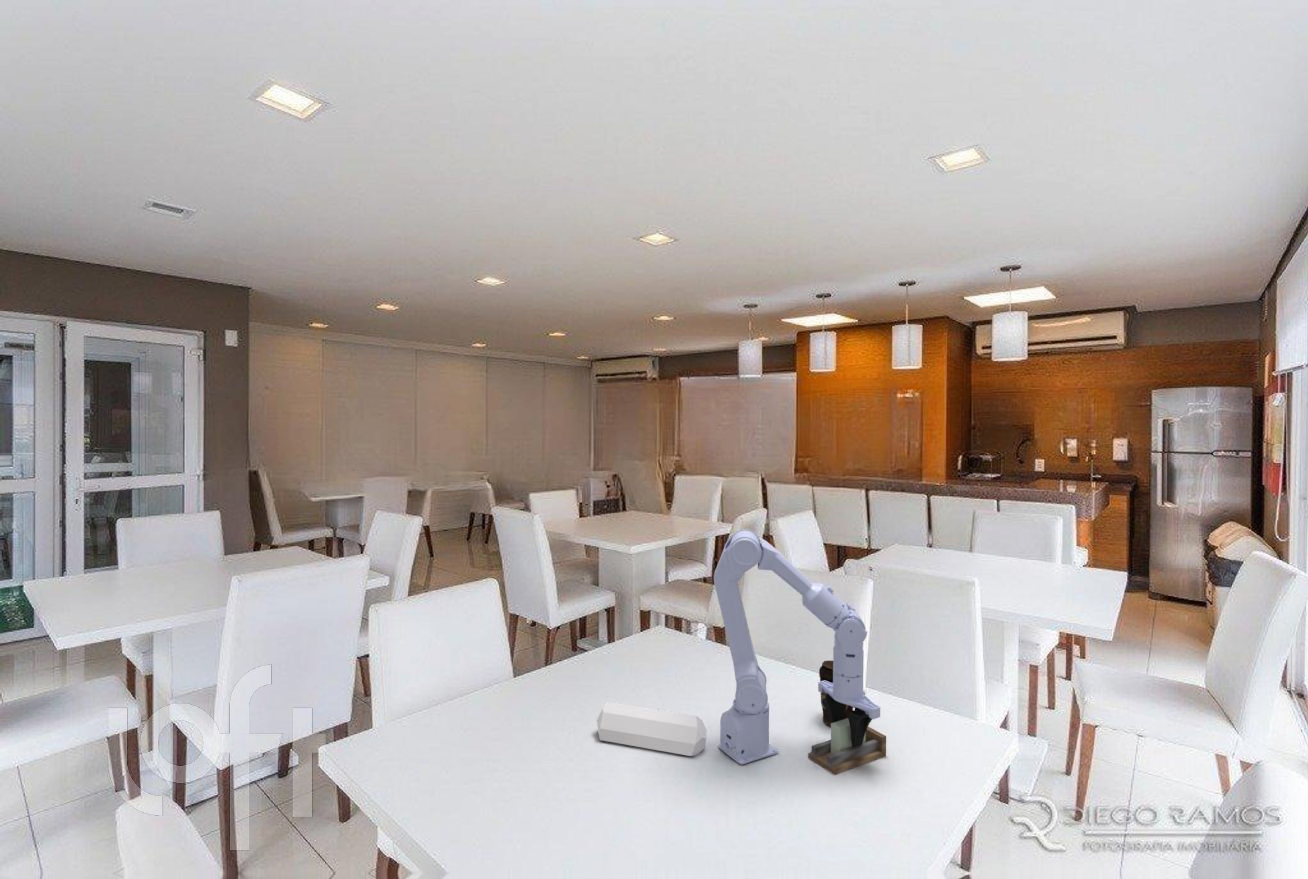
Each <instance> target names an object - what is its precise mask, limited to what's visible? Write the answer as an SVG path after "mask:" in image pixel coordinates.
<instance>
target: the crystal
mask: <svg viewBox="0 0 1308 879" xmlns="http://www.w3.org/2000/svg"><path fill="white" fill-rule="evenodd" d="M596 723H597V732H598V736H599V740H600V741H605V742H610V743H615V744H619V745H620V744H621V745H627V746H631V747H638V748H643V749H648V750H654V751H660V752H666V753H671V754H678V755H683V756H689V757H693V756H694V757H695V756H697V755H699V754H700V753H701V752H702V751H703V750H704V749H705V746H706V743H707V738H708V736H707V732H708V731H707V727H706V726H705V723H704V721H703V719H701V718H700V717H699V716H697V715H693V714H687V713H681V712H675V711H674V712H673V711H668V710H662V709H661V710H660V709H657V708H655V709H654V708H647V707H641V706H635V705H629V704H622V703H616V702H610V701H607V702H606V703H605V704H604V705H603V708H601V710H600V713H599V714H598V716H597V719H596Z"/></svg>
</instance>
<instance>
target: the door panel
mask: <svg viewBox="0 0 1308 879" xmlns="http://www.w3.org/2000/svg"><path fill="white" fill-rule="evenodd" d="M830 740H831V754H833V753H836V752H839V751H842V750H845V749H848V748H851V747H853V746H852V743H851V728H850V723H849V719H848V718H847V719H843V720H840V721H837V722H834V723H831V726H830ZM865 740H866V732H865V735H864V739H863V743H865Z"/></svg>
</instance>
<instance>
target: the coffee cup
mask: <svg viewBox="0 0 1308 879" xmlns="http://www.w3.org/2000/svg"><path fill="white" fill-rule="evenodd" d="M818 675H819V682H821V681H824V680H826V681H828V682H831V683H833V660H824V661H822V664H821V666H820V667H819V671H818ZM819 693H820V704H821V710H822V721H823V723H824V724H826V725H827V726H830V727H831V723H830V720H829V717H828V714H827V712H826V709H825V707H824V706H823V704H822V699H824V698H826V696H827V694H826V693H825V692H823V693H821V692H819ZM853 710H854V707H852V706H850V705H847V707H846V711H845V718H844V719H847V718H848V717H847V712H849V711H853Z"/></svg>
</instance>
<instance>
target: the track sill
mask: <svg viewBox="0 0 1308 879" xmlns="http://www.w3.org/2000/svg"><path fill="white" fill-rule="evenodd" d="M807 755H808V756H807V758H808V759H809V760H811V761H812V762H814V763H815V764H817V765H818V766H820V767H822V768H823V769H825V770H826V771H828V772H829V773H830V774H832V775H833V776H835V775H837V774H839V773H843V772H845V771H850V770H852V769H854V768H857V767H860V766H862V765H865V764H867V763H870V762H873V761H876V760H878V759H882V758H884V757H886V756H887V735H885V734H883V733H881V732H879V731H878V730H876V729H873V728H872V727H870V726H868V727H867V730H866V740H865V743H862V745H861V746H858V747H851V748H848V749H845V750H842V751H839V752H836V753H833V754H831V739H829V740H825V741H823V742H819V743H816V744H813V745H811V751H810V752H809V751H808V752H807Z"/></svg>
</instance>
